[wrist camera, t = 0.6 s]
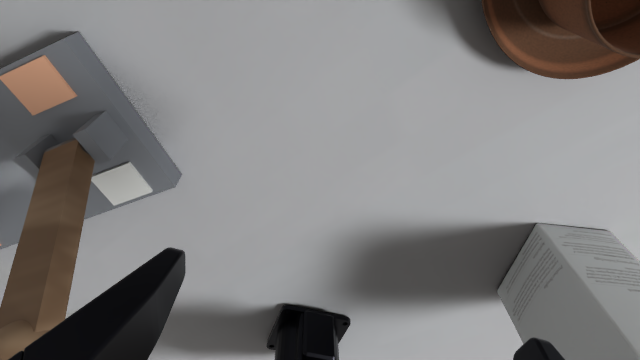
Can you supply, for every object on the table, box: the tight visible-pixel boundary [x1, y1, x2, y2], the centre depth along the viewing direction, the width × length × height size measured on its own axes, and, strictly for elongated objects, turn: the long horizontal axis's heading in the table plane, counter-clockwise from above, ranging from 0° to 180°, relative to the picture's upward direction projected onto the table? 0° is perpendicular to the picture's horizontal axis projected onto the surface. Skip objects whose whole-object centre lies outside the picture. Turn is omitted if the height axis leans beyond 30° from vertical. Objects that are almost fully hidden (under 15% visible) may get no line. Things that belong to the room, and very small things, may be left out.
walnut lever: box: [0, 138, 95, 360], centre depth 18 cm, size 3×3×13 cm
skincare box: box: [497, 223, 640, 360], centre depth 24 cm, size 8×7×16 cm
